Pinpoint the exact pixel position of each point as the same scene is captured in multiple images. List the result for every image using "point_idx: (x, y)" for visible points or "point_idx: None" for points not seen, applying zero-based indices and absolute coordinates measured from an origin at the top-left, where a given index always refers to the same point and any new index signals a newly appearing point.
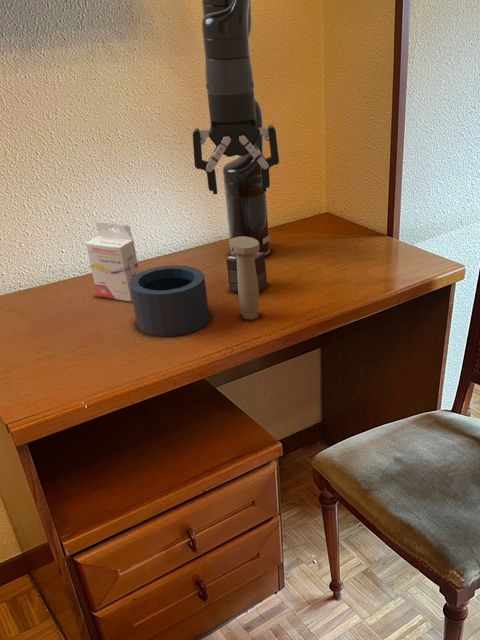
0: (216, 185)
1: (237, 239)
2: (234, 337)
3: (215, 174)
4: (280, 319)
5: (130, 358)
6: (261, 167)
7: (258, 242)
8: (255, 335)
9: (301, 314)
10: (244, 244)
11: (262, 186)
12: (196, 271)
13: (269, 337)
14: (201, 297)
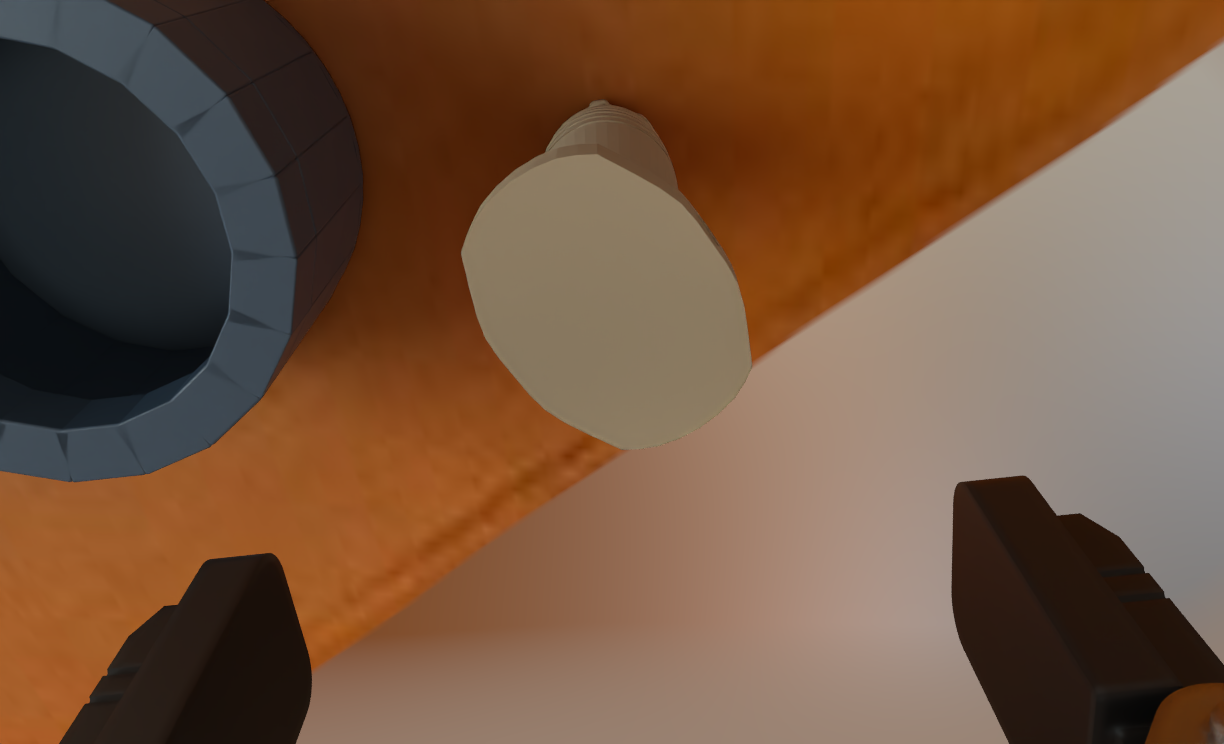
0: (263, 684)
1: (539, 238)
2: None
3: (187, 740)
4: (782, 183)
5: (99, 549)
6: (1113, 730)
7: (744, 324)
8: None
9: (910, 121)
10: (619, 365)
11: (982, 676)
12: (199, 114)
13: None
14: (316, 296)
